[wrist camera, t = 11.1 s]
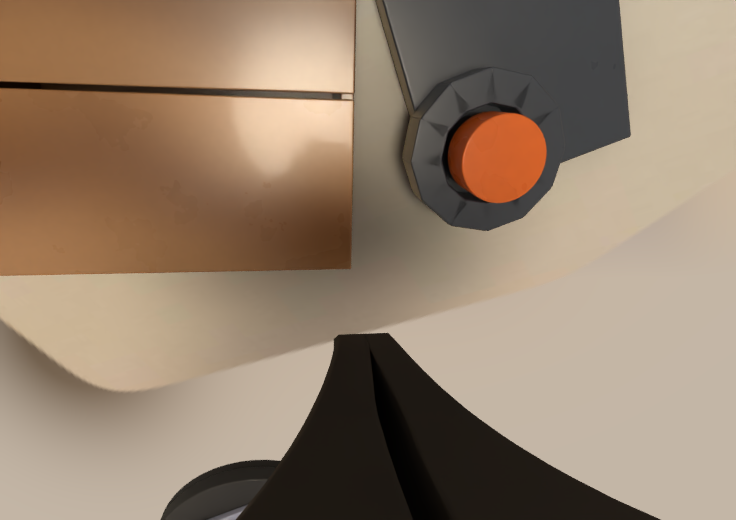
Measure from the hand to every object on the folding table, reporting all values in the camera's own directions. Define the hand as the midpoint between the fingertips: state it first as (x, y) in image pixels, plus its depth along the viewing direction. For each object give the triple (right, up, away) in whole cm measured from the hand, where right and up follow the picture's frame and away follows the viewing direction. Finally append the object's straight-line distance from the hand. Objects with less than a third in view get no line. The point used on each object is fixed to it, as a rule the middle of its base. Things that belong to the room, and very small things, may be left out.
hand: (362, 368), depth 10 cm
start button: (+5, +7, +6) cm, 10 cm away
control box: (+6, +11, +8) cm, 15 cm away
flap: (-6, +5, +2) cm, 8 cm away
